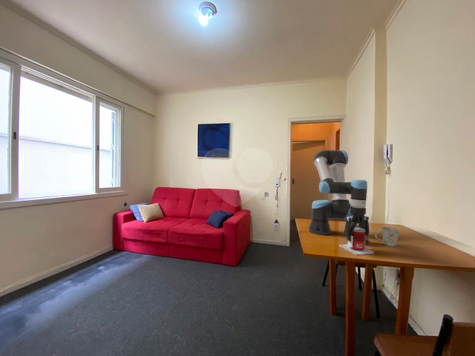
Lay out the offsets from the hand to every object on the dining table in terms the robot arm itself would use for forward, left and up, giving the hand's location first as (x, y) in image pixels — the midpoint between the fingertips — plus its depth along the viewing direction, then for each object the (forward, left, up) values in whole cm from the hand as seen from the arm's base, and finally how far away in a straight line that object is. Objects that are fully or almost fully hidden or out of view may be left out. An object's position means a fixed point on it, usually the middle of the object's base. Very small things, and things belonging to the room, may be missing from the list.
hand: (356, 245), depth 103 cm
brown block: (-8, +11, -2) cm, 14 cm away
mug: (-3, +26, -2) cm, 26 cm away
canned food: (0, 0, -1) cm, 1 cm away
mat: (0, 0, -2) cm, 2 cm away
